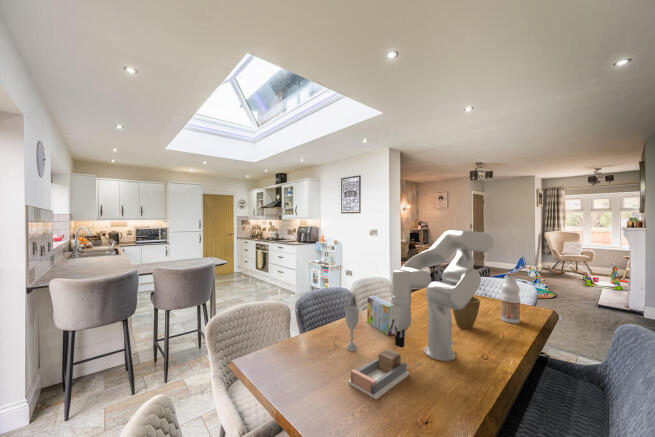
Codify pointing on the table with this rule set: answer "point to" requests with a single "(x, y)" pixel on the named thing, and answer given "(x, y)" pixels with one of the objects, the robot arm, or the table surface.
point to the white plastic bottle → (510, 300)
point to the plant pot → (467, 314)
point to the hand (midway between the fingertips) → (399, 345)
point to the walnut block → (389, 360)
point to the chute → (377, 378)
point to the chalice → (351, 324)
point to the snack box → (379, 314)
